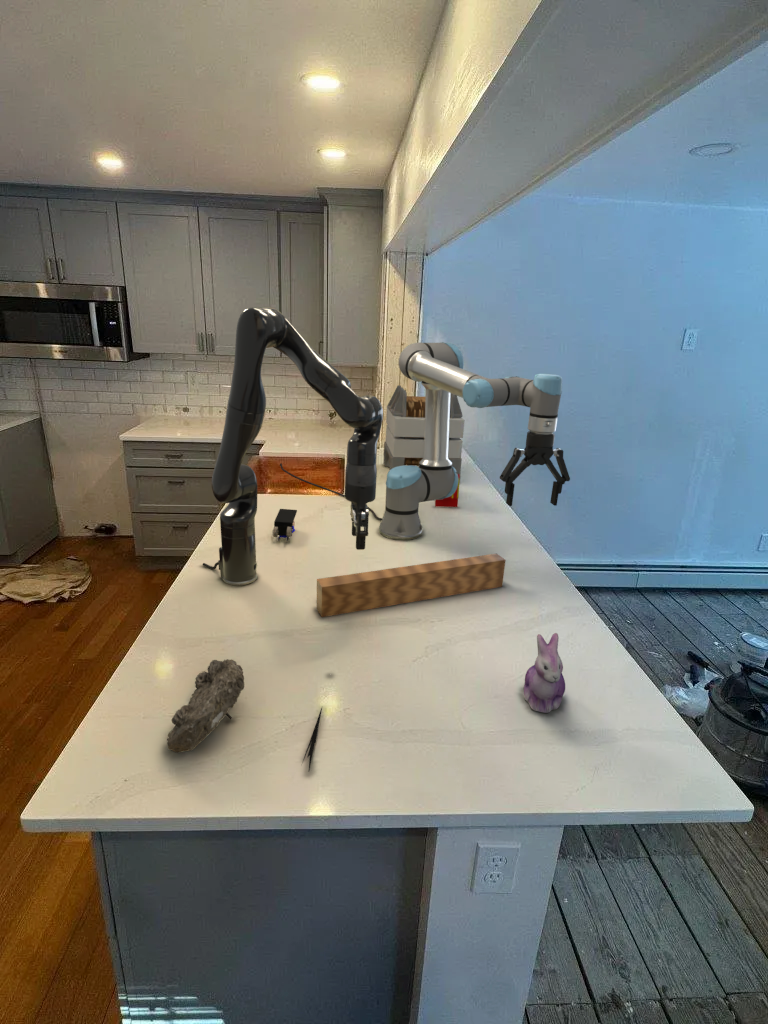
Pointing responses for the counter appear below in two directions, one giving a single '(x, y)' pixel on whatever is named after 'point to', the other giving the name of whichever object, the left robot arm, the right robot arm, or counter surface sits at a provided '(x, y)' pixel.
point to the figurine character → (284, 523)
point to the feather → (313, 740)
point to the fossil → (206, 705)
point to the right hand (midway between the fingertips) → (531, 504)
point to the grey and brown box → (417, 431)
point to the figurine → (545, 677)
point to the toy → (449, 499)
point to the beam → (408, 584)
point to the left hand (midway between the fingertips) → (358, 542)
